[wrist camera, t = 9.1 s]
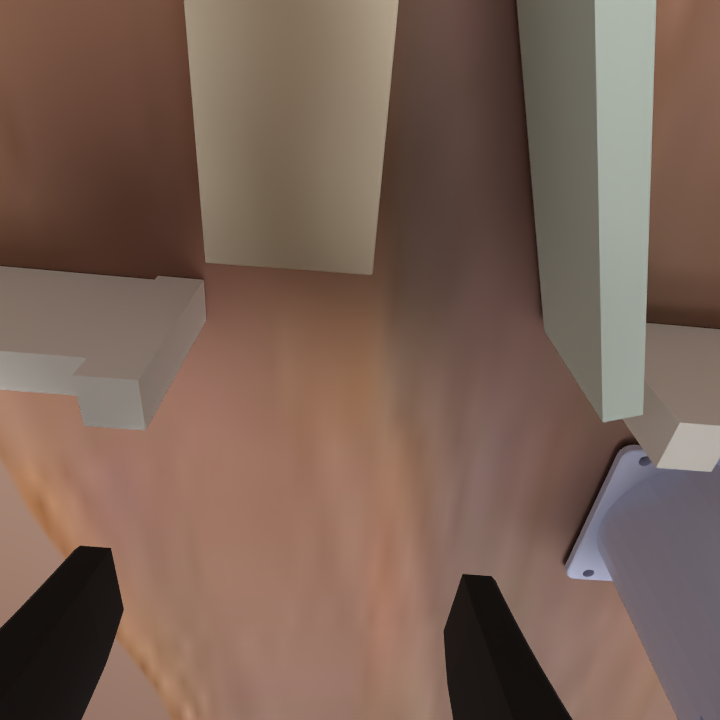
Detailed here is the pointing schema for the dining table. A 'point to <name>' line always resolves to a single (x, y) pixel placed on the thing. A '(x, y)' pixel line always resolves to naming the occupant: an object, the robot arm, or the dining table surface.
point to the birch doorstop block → (290, 128)
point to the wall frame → (188, 315)
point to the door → (592, 185)
